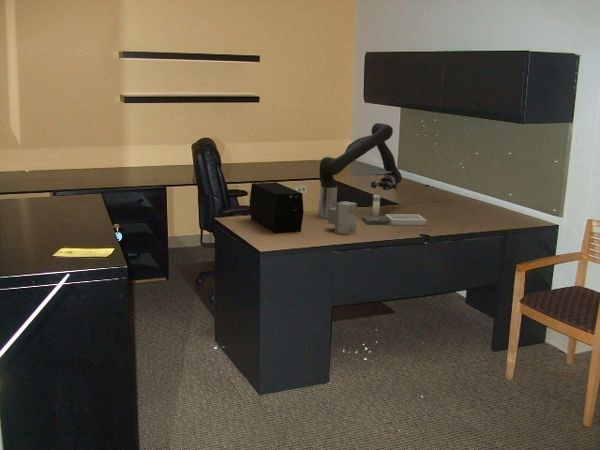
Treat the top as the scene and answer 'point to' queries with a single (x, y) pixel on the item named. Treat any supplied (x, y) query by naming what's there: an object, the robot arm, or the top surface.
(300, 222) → the uninterruptible power supply
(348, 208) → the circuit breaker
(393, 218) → the tray
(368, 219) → the fuse holder
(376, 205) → the fuse
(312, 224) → the top surface
